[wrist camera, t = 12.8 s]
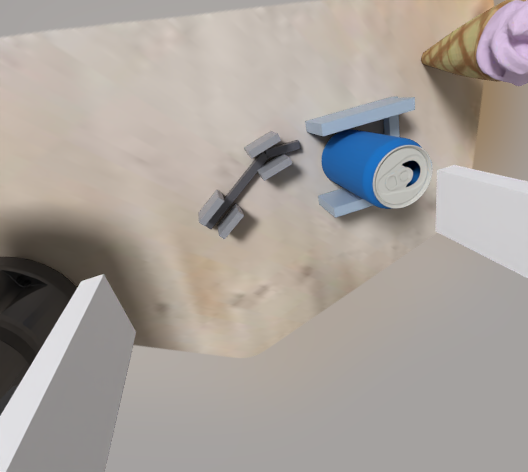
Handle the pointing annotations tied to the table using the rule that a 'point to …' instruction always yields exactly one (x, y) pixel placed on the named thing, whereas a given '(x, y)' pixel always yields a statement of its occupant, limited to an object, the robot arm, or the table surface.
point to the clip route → (247, 181)
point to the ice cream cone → (487, 46)
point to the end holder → (346, 119)
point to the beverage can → (378, 167)
